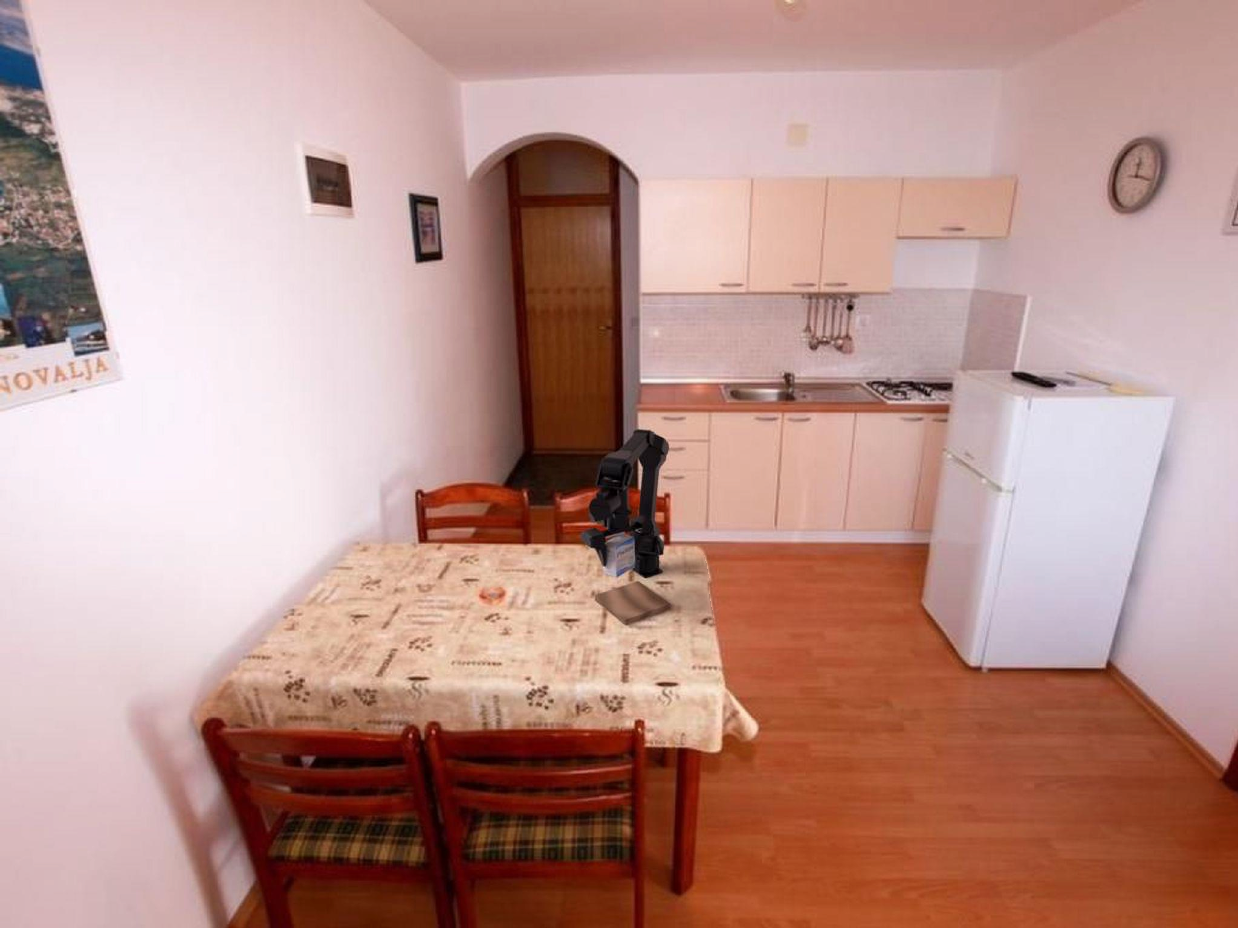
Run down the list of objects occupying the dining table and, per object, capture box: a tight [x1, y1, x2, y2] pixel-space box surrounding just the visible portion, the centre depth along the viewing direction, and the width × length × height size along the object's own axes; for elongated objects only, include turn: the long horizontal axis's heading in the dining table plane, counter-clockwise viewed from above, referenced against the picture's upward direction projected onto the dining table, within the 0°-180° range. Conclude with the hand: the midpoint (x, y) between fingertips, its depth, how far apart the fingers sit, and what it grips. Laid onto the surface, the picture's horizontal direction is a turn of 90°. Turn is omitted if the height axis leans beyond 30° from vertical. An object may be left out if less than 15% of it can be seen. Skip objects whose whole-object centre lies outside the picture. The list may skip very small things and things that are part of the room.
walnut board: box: [594, 580, 672, 626], centre depth 172 cm, size 14×15×2 cm
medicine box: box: [602, 533, 635, 578], centre depth 168 cm, size 8×4×9 cm, turn 141°
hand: (619, 561), depth 169 cm, fingers closed on medicine box, 9 cm apart
